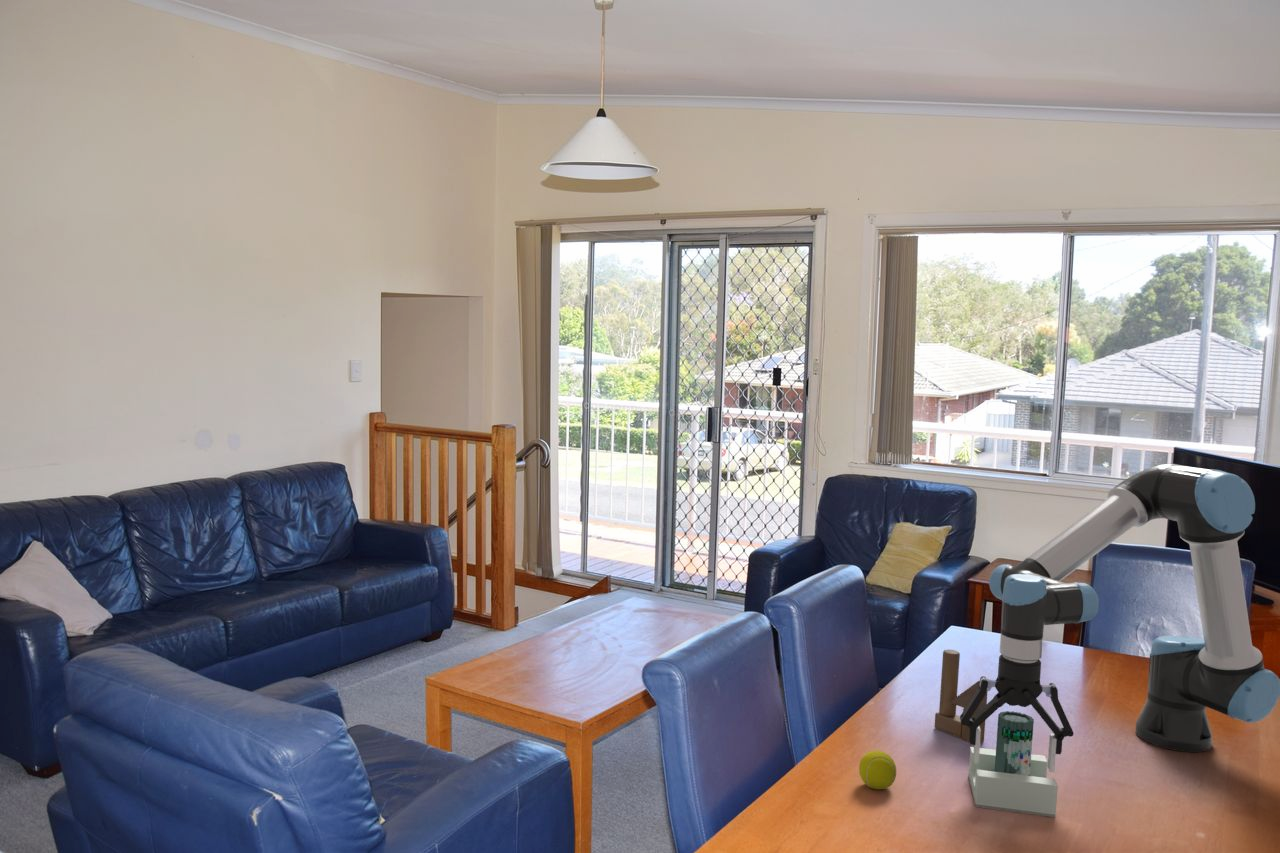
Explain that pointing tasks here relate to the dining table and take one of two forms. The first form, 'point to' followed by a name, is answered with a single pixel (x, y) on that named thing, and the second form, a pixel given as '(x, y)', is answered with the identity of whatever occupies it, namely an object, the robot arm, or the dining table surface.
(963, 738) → the wooden block
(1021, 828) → the dining table surface
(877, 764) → the tennis ball
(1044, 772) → the socket block
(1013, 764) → the can
